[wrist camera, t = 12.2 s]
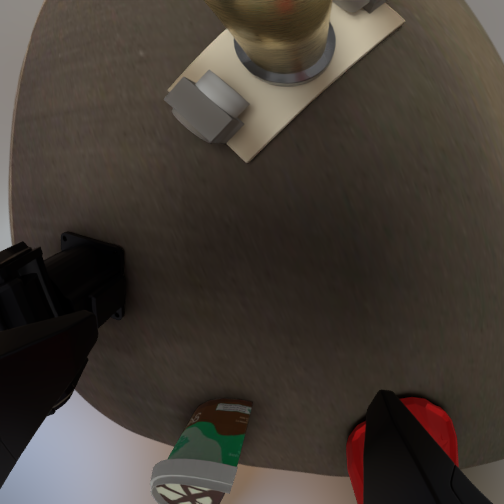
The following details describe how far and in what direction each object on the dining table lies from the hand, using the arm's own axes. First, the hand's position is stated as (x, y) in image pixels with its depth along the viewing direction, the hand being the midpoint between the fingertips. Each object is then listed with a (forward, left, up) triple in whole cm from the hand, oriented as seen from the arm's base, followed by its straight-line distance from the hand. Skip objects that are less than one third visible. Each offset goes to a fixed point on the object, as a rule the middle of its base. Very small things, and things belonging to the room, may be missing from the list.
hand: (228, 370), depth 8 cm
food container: (-2, -19, -12) cm, 23 cm away
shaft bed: (-2, +12, -12) cm, 17 cm away
